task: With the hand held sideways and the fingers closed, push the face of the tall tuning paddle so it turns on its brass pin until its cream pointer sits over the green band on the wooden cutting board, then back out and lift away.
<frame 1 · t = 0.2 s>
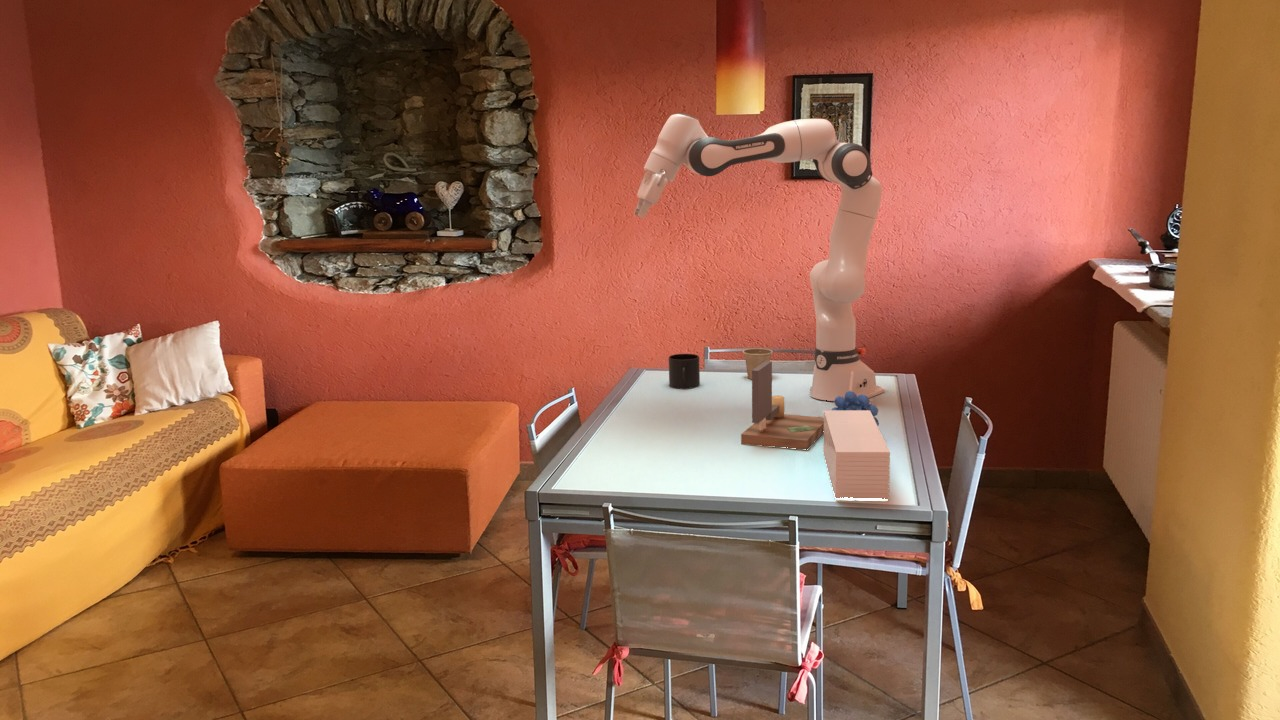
hand: (638, 216, 262), 54 cm above the table, tool tilted 30°, fingers open, 8 cm apart
wooden cutting board: (777, 426, 251), on the table
stack of papers: (853, 477, 212), on the table
mug: (684, 386, 297), on the table
flower pot: (757, 378, 305), on the table
tuning paddle: (767, 393, 241), point 11 cm above the table, hinge at 0.0°
grapes: (855, 439, 238), on the table
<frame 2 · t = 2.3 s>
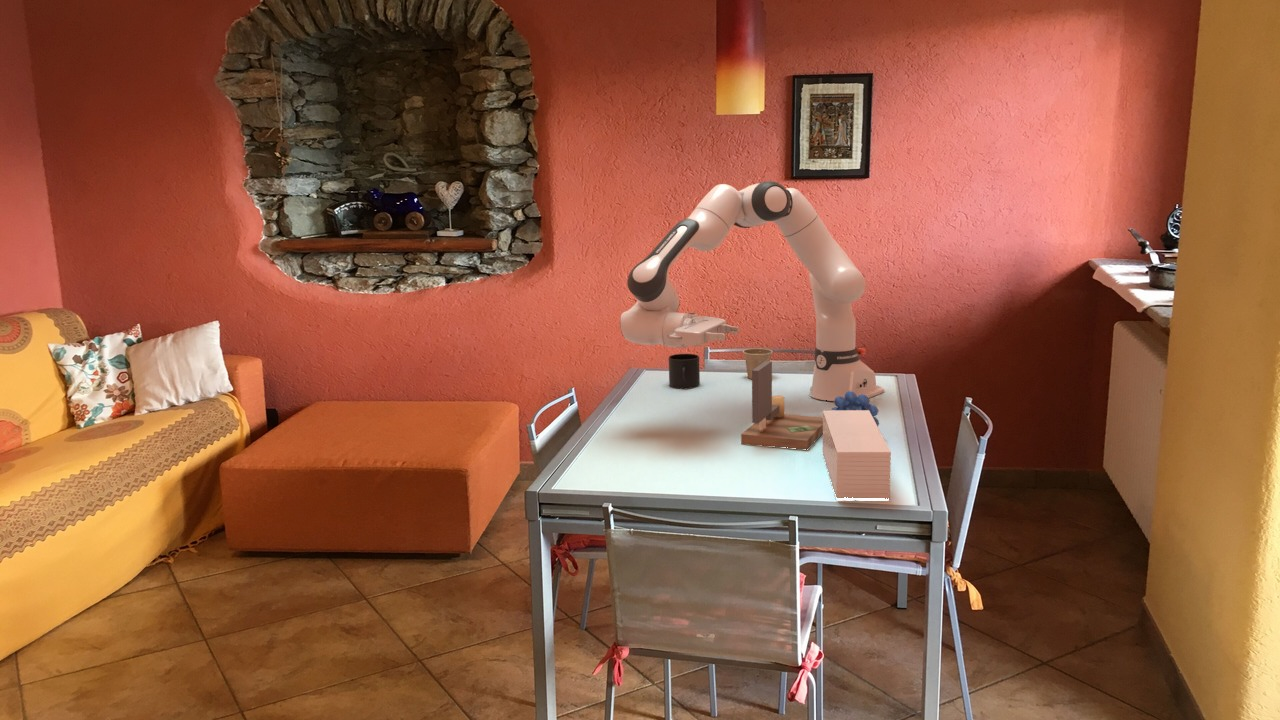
hand: (731, 333, 239), 26 cm above the table, tool horizontal, fingers open, 8 cm apart
nothing on the table moved.
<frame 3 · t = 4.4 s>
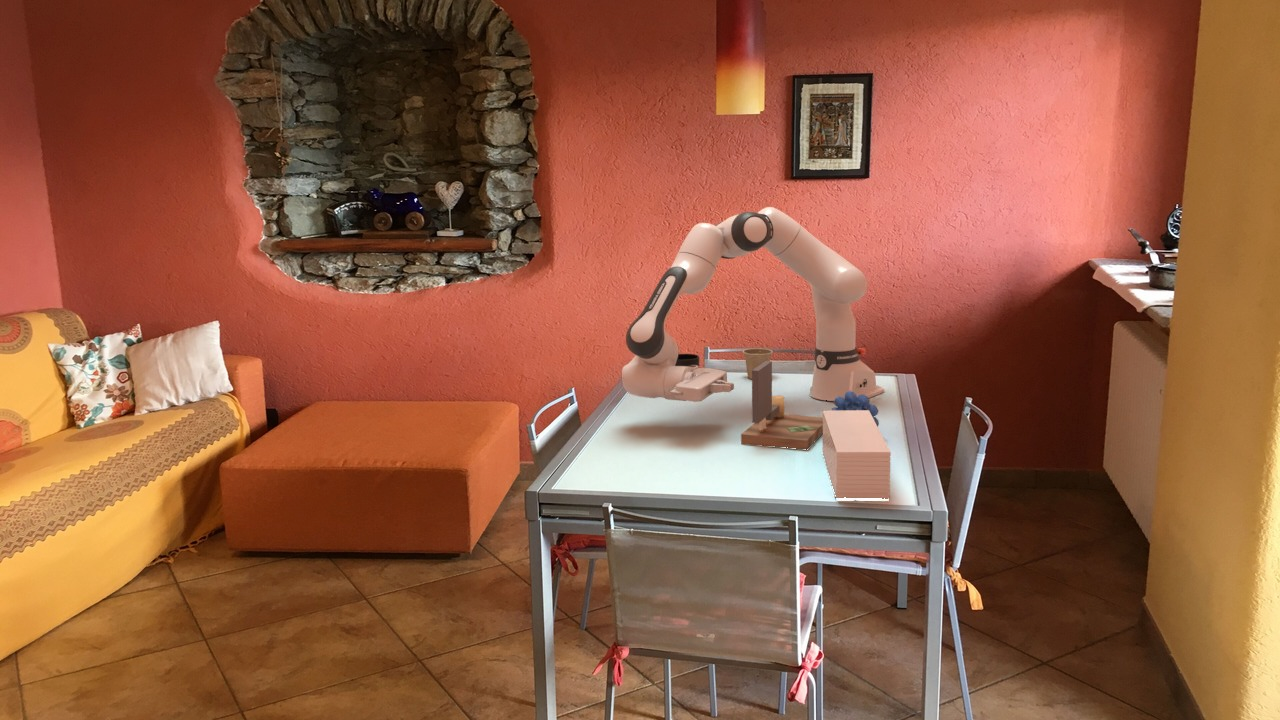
hand: (732, 387, 241), 13 cm above the table, tool horizontal, fingers closed
nothing on the table moved.
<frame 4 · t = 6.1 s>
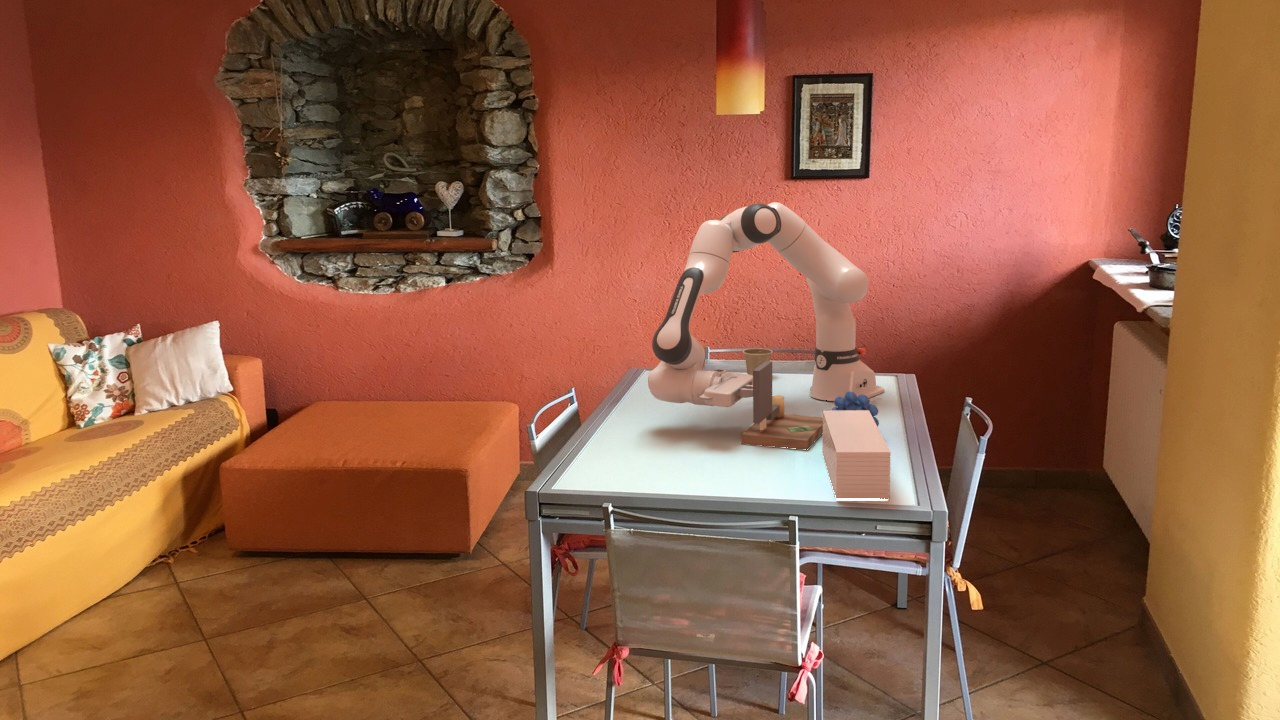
hand: (761, 392, 239), 12 cm above the table, tool horizontal, fingers closed, pressing on tuning paddle
tuning paddle: (768, 393, 241), point 11 cm above the table, hinge at 0.8°, touching gripper
everything else where it was.
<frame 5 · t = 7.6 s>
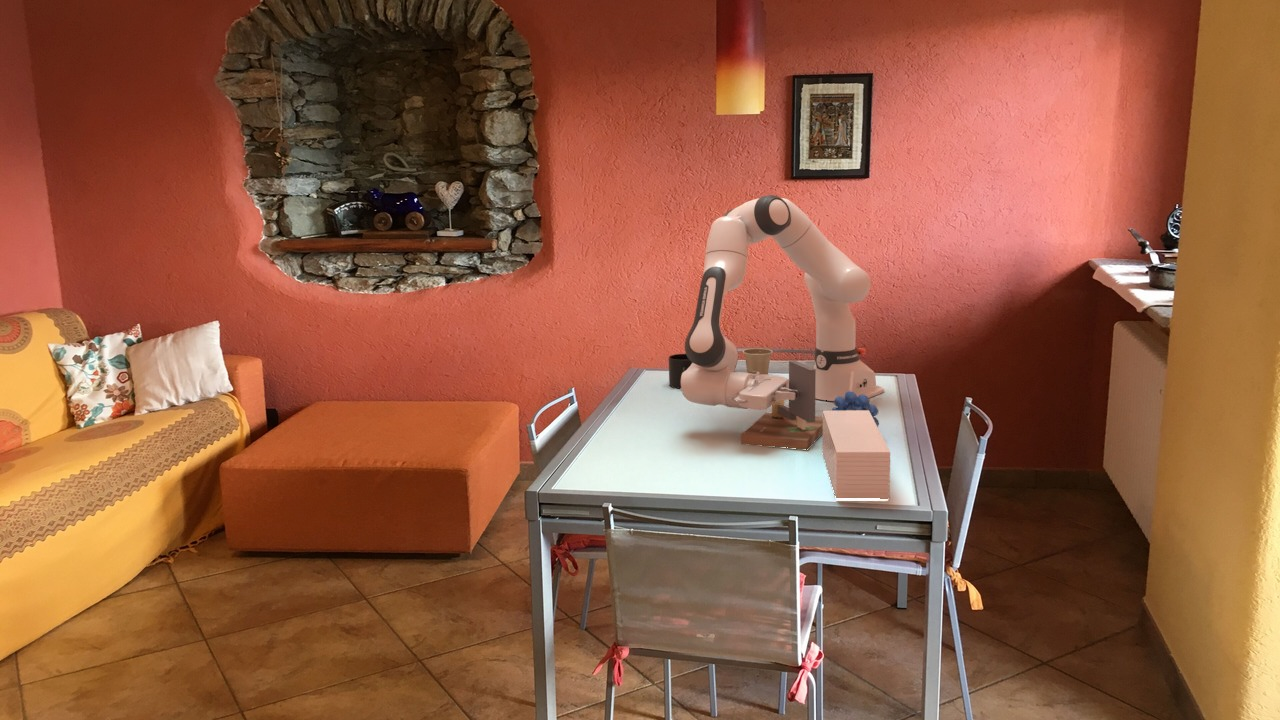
hand: (796, 395, 235), 12 cm above the table, tool horizontal, fingers closed
tuning paddle: (793, 393, 241), point 11 cm above the table, hinge at 42.0°, touching gripper
everything else where it was.
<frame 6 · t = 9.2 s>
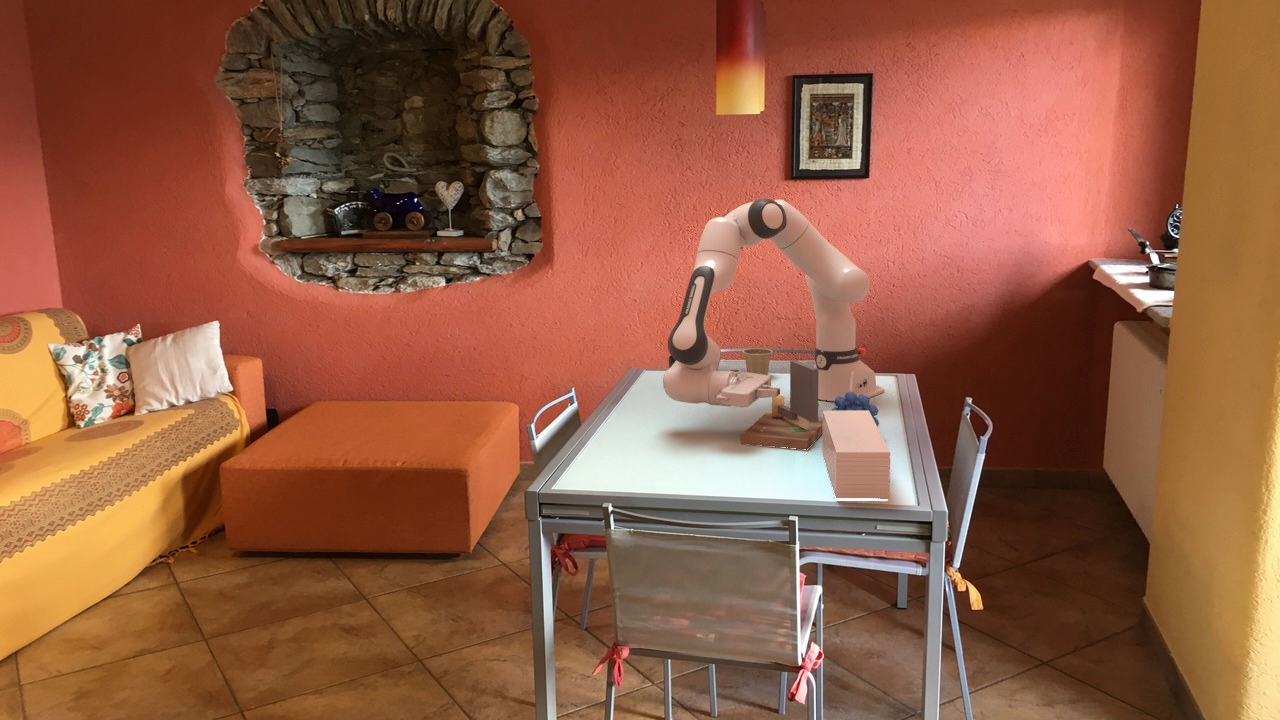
hand: (778, 392, 237), 12 cm above the table, tool horizontal, fingers closed
tuning paddle: (794, 392, 241), point 11 cm above the table, hinge at 44.4°
everything else where it was.
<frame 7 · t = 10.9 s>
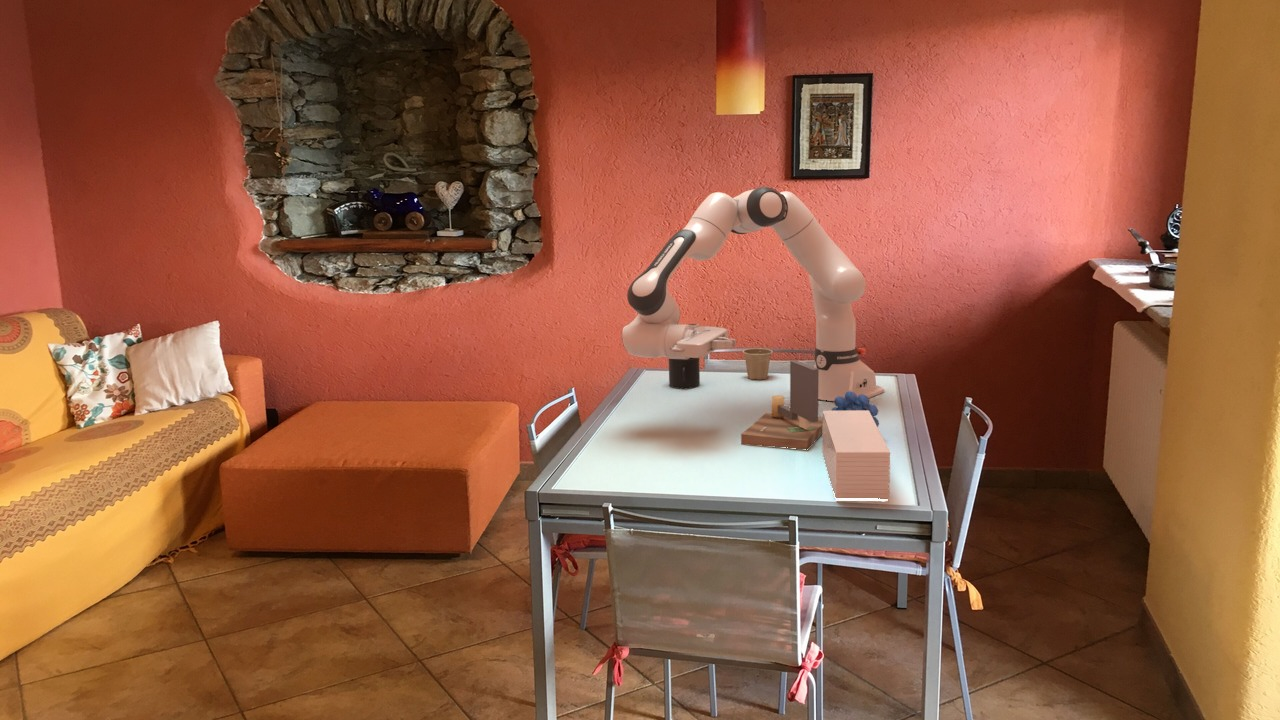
hand: (733, 343, 239), 24 cm above the table, tool horizontal, fingers closed
nothing on the table moved.
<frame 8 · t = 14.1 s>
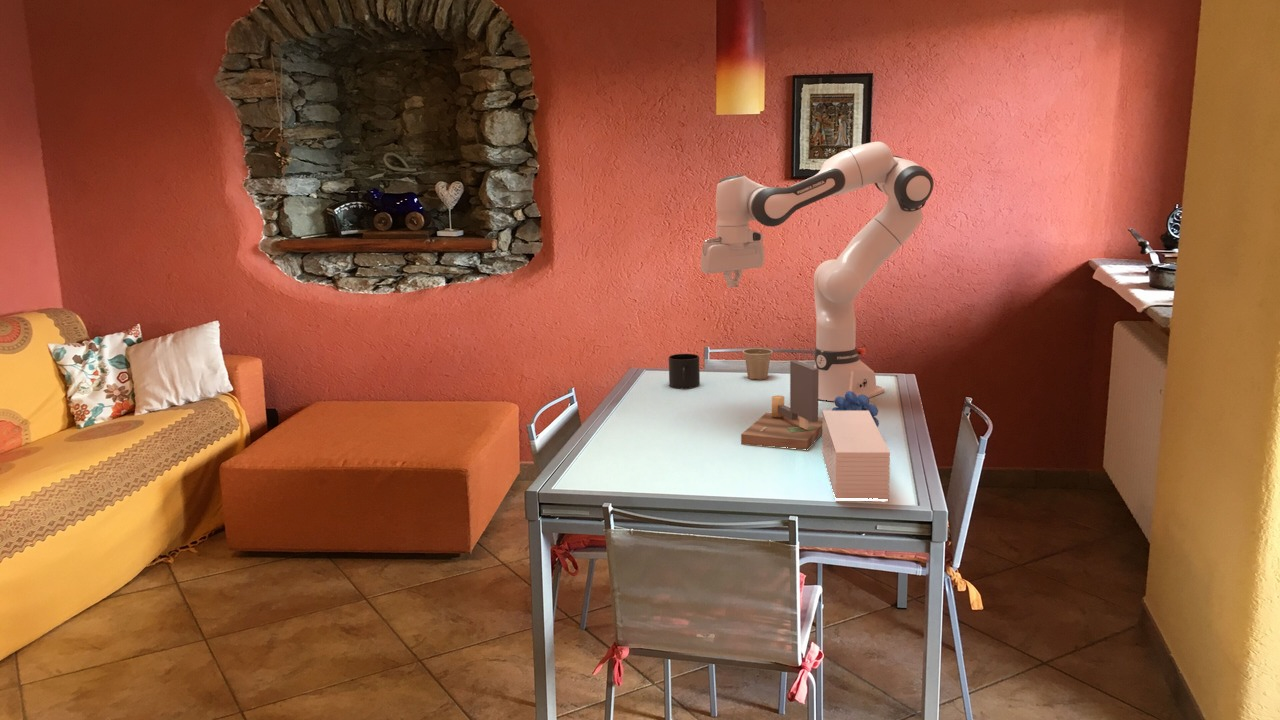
hand: (732, 286, 264), 34 cm above the table, tool pointing down, fingers closed
nothing on the table moved.
at the end: tuning paddle at +44° (first picture: +0°); the gripper is holding nothing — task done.
